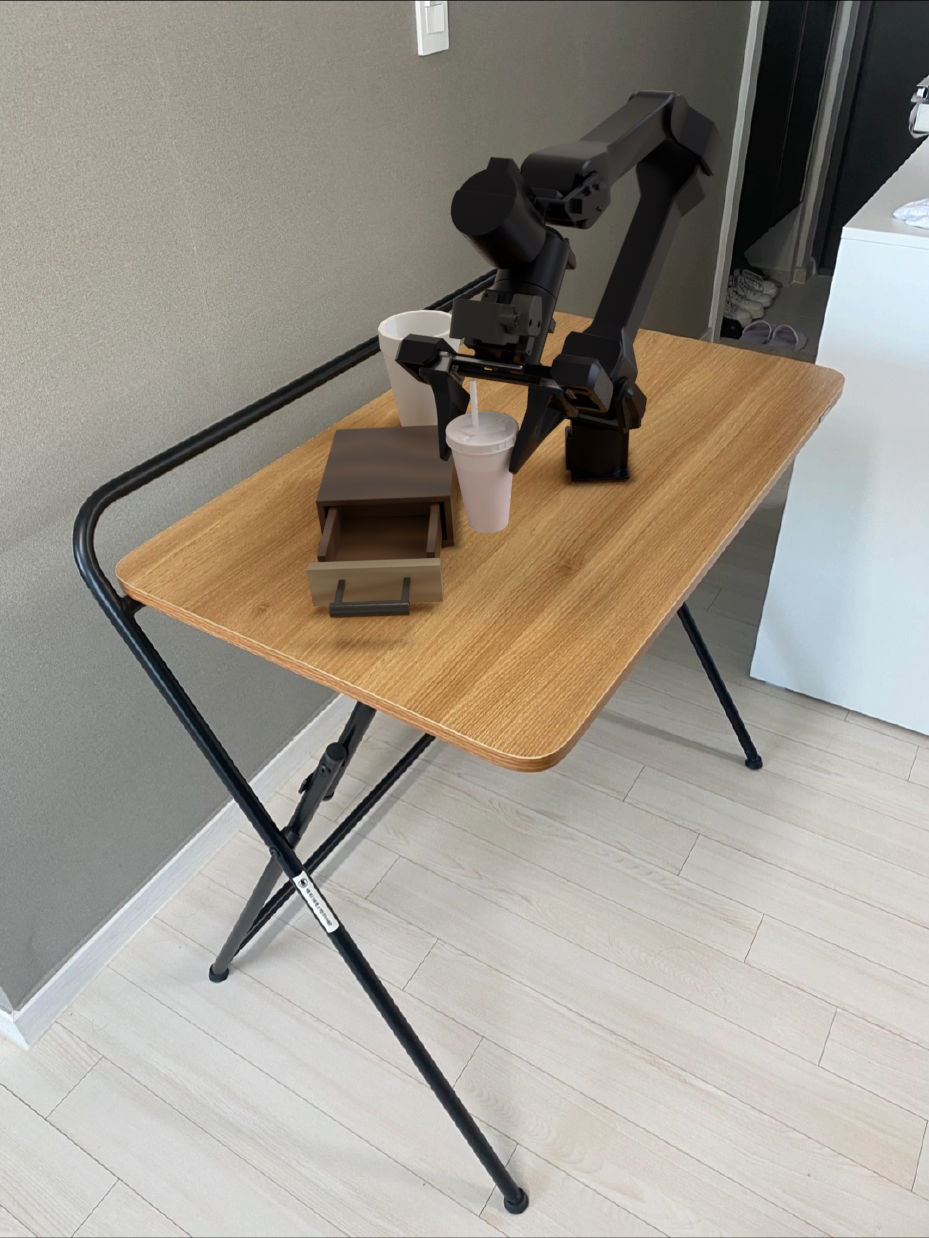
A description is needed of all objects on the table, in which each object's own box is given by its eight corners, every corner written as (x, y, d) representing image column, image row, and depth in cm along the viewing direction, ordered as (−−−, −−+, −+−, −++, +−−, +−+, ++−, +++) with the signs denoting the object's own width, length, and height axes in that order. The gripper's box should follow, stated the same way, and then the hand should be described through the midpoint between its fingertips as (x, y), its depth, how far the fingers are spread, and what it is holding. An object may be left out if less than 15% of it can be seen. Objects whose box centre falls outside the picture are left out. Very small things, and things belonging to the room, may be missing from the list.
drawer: (441, 635, 85) (437, 597, 83) (305, 639, 86) (297, 602, 83) (449, 519, 100) (446, 484, 98) (333, 523, 101) (327, 488, 98)
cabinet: (454, 545, 98) (450, 495, 94) (324, 550, 99) (315, 501, 95) (459, 470, 110) (455, 424, 106) (343, 475, 111) (335, 429, 107)
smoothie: (457, 503, 91) (445, 364, 82) (525, 503, 90) (520, 362, 82) (449, 541, 86) (435, 398, 77) (521, 541, 85) (515, 397, 77)
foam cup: (438, 451, 114) (429, 346, 106) (375, 435, 118) (362, 333, 110) (479, 418, 120) (474, 316, 112) (418, 404, 124) (408, 305, 116)
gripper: (392, 241, 80) (341, 419, 80) (604, 260, 73) (549, 457, 72) (444, 299, 90) (399, 458, 90) (634, 322, 83) (586, 495, 82)
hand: (476, 466), depth 83 cm, fingers closed on smoothie, 6 cm apart
